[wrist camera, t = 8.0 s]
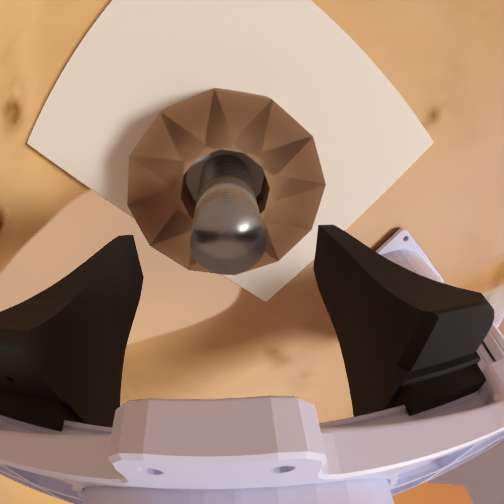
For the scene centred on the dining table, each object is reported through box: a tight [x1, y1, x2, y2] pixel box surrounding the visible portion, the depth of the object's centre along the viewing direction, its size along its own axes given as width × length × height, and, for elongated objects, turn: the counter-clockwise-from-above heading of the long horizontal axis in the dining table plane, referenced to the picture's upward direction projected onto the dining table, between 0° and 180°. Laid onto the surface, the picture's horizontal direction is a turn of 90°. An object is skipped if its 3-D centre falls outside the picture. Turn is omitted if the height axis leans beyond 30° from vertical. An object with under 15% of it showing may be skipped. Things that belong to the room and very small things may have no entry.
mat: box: [27, 0, 433, 302], centre depth 17 cm, size 22×18×1 cm
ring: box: [127, 88, 326, 275], centre depth 18 cm, size 11×11×2 cm
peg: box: [190, 154, 266, 275], centre depth 15 cm, size 3×3×8 cm
